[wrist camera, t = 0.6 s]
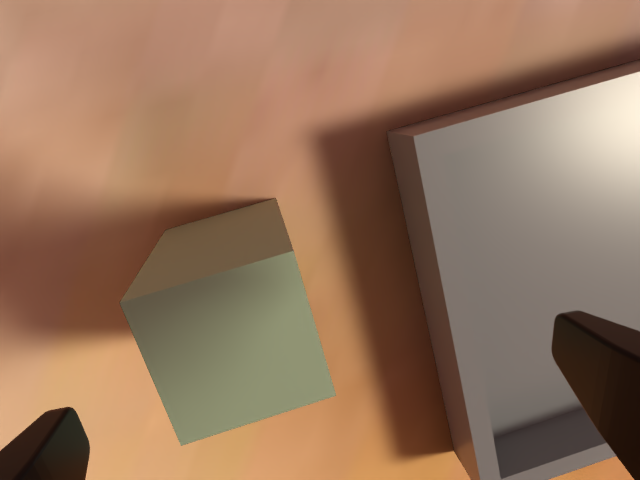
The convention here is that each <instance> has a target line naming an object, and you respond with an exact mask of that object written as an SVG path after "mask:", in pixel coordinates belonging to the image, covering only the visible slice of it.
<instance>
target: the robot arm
mask: <svg viewBox="0 0 640 480" xmlns="http://www.w3.org/2000/svg"><path fill="white" fill-rule="evenodd" d="M551 350H552V356H553V358H554V361H555V363H556V364H557V366H558V367H559V369H560V371H561V372H562V374H563V376H564V377H565V379H566V380H567V382H568V384H569V385H570V387H571V389H572V390H573V392H574V394H575V395H576V397H577V398H578V400H579V402H580V403H581V405H582V407H583V408H584V410H585V411H586V413H587V415H588V416H589V418H590V420H591V421H592V423H593V424H594V426H595V427H596V429H597V430H598V432H599V433H600V434H601V436H602V437H603V439H604V440H605V441H606V443H607V444H608V445H609V447H610V448H611V449H612V451H613V452H614V453H615V455H616V456H617V457H618V459H619V460H620V461H621V462H622V464H623V465H624V466H625V468H626V469H627V470H628V472H629V473H630V474H631V476H632V477H633V478H634V480H640V331H638V330H635V329H632V328H629V327H627V326H624V325H621V324H618V323H615V322H612V321H609V320H606V319H603V318H600V317H598V316H595V315H592V314H589V313H586V312H583V311H580V310H574V311H569V312H564V313H560V314H558V315H557V316H556V317H555V320H554V328H553V337H552V346H551ZM89 454H90V446H89V440H88V438H87V435H86V433H85V431H84V429H83V426H82V424H81V422H80V419H79V417H78V415H77V413H76V411H75V410H74V409H73V408H71V407H65V408H59V409H54V410H50V411H47V412H45V413H44V414H43V415H41V416H40V417H39V418H38V419H37V420H36V421H34V422H33V423H32V424H31V425H30V426H29V427H27V428H26V429H25V430H24V431H23V432H22V433H20V434H19V435H18V436H17V437H16V438H15V439H14V440H12V441H11V442H10V443H9V444H8V445H7V446H5V447H4V448H3V449H2V450H1V451H0V480H85V478H86V472H87V466H88V460H89Z"/></svg>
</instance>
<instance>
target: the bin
mask: <svg viewBox="0 0 640 480" xmlns="http://www.w3.org/2000/svg"><path fill="white" fill-rule="evenodd" d="M387 136H388V141H389V146H390V150H391V155H392V160H393V164H394V169H395V174H396V179H397V183H398V188H399V193H400V197H401V202H402V207H403V212H404V216H405V221H406V226H407V231H408V235H409V240H410V245H411V249H412V254H413V259H414V264H415V268H416V273H417V278H418V283H419V287H420V292H421V297H422V301H423V306H424V311H425V316H426V320H427V325H428V330H429V334H430V339H431V344H432V349H433V353H434V358H435V363H436V368H437V372H438V377H439V382H440V386H441V391H442V396H443V401H444V405H445V410H446V415H447V420H448V424H449V429H450V434H451V438H452V443H453V448H454V452H455V454H456V455H457V457H458V459H459V460H460V462H461V463H462V465H463V467H464V468H465V470H466V472H467V473H468V475H469V477H470V478H471V480H548V479H551V478H554V477H557V476H560V475H563V474H566V473H569V472H572V471H574V470H577V469H580V468H583V467H586V466H589V465H592V464H595V463H597V462H600V461H603V460H606V459H609V458H612V457H615V456H616V455H615V453H614V452H613V451H612V449H611V448H610V447H609V445H608V444H607V443H606V441H605V440H604V439H603V437H602V436H601V434H600V433H599V432H598V430H597V429H596V427H595V426H594V424H593V423H592V421H591V420H590V418H589V416H588V415H587V413H586V411H585V410H584V408H583V407H582V405H581V403H580V402H579V400H578V398H577V397H576V395H575V394H574V392H573V390H572V389H571V387H570V385H569V384H568V382H567V380H566V379H565V377H564V376H563V374H562V372H561V371H560V369H559V367H558V366H557V364H556V363H555V361H554V358H553V356H552V350H551V346H552V337H553V328H554V320H555V317H556V316H557V315H558V314H560V313H564V312H569V311H574V310H580V311H583V312H586V313H589V314H592V315H595V316H598V317H600V318H603V319H606V320H609V321H612V322H615V323H618V324H621V325H624V326H627V327H629V328H632V329H635V330H638V331H640V59H639V60H636V61H632V62H629V63H625V64H622V65H618V66H615V67H611V68H608V69H604V70H601V71H597V72H594V73H590V74H587V75H583V76H580V77H576V78H572V79H569V80H565V81H562V82H558V83H555V84H551V85H548V86H544V87H541V88H537V89H534V90H530V91H527V92H523V93H520V94H516V95H513V96H509V97H506V98H502V99H499V100H495V101H491V102H488V103H484V104H481V105H477V106H474V107H470V108H467V109H463V110H460V111H456V112H453V113H449V114H446V115H442V116H439V117H435V118H432V119H428V120H425V121H421V122H418V123H414V124H410V125H407V126H403V127H400V128H396V129H393V130H389V131H387Z"/></svg>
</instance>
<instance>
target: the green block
mask: <svg viewBox="0 0 640 480" xmlns="http://www.w3.org/2000/svg"><path fill="white" fill-rule="evenodd" d="M120 305H121V308H122V310H123V312H124V315H125V317H126V319H127V322H128V324H129V326H130V329H131V331H132V333H133V336H134V338H135V340H136V342H137V345H138V347H139V349H140V352H141V354H142V356H143V359H144V361H145V363H146V366H147V368H148V370H149V373H150V375H151V377H152V380H153V382H154V384H155V386H156V389H157V391H158V393H159V396H160V398H161V400H162V403H163V405H164V407H165V410H166V412H167V414H168V417H169V419H170V421H171V423H172V426H173V428H174V430H175V433H176V435H177V437H178V440H179V442H180V444H181V446H182V445H185V444H188V443H191V442H194V441H197V440H200V439H204V438H207V437H210V436H213V435H216V434H219V433H222V432H225V431H228V430H231V429H235V428H238V427H241V426H244V425H247V424H250V423H253V422H256V421H259V420H262V419H265V418H269V417H272V416H275V415H278V414H281V413H284V412H287V411H290V410H293V409H296V408H299V407H303V406H306V405H309V404H312V403H315V402H318V401H321V400H324V399H327V398H330V397H334V396H336V393H335V390H334V386H333V383H332V380H331V376H330V373H329V369H328V366H327V363H326V359H325V356H324V352H323V349H322V346H321V342H320V339H319V336H318V332H317V329H316V325H315V322H314V319H313V315H312V312H311V308H310V305H309V302H308V298H307V295H306V291H305V288H304V285H303V281H302V278H301V274H300V271H299V268H298V264H297V261H296V257H295V254H294V251H293V248H292V245H291V242H290V239H289V236H288V233H287V230H286V227H285V224H284V221H283V218H282V215H281V212H280V209H279V206H278V203H277V200H276V198H274V199H271V200H267V201H264V202H260V203H257V204H253V205H250V206H247V207H243V208H240V209H236V210H233V211H229V212H226V213H222V214H219V215H215V216H212V217H209V218H205V219H202V220H198V221H195V222H191V223H188V224H184V225H181V226H177V227H174V228H171V229H167V230H165V232H164V233H163V235H162V236H161V238H160V239H159V241H158V243H157V244H156V246H155V247H154V249H153V250H152V252H151V254H150V255H149V257H148V258H147V260H146V262H145V263H144V265H143V266H142V268H141V269H140V271H139V273H138V274H137V276H136V277H135V279H134V280H133V282H132V284H131V285H130V287H129V288H128V290H127V291H126V293H125V295H124V296H123V298H122V299H121V301H120Z"/></svg>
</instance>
